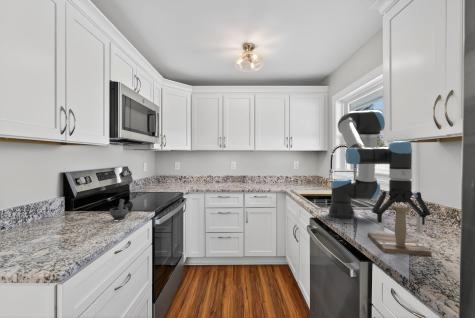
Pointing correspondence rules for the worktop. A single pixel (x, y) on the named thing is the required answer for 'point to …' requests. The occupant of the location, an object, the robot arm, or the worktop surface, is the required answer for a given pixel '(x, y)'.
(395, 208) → the handle
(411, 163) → the robot arm
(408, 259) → the worktop surface
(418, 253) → the board
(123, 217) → the mortar and pestle
